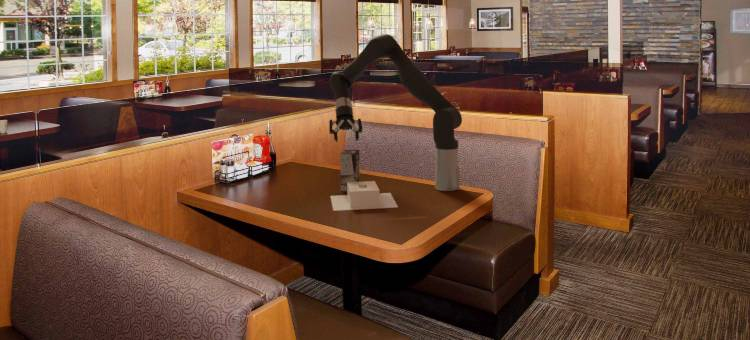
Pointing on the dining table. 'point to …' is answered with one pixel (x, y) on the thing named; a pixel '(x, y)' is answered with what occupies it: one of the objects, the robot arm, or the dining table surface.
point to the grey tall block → (349, 167)
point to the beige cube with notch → (363, 194)
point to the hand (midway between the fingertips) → (346, 140)
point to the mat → (343, 204)
